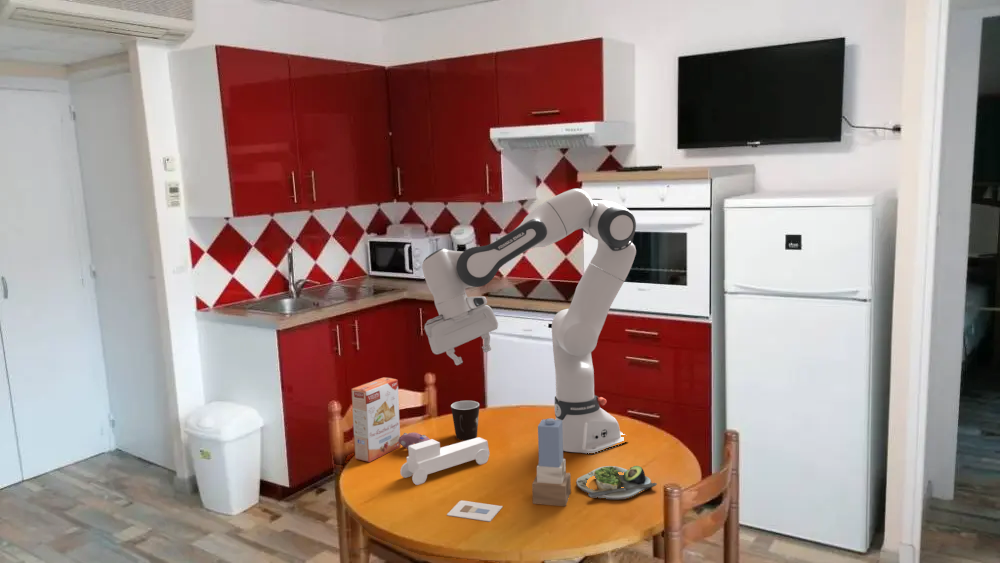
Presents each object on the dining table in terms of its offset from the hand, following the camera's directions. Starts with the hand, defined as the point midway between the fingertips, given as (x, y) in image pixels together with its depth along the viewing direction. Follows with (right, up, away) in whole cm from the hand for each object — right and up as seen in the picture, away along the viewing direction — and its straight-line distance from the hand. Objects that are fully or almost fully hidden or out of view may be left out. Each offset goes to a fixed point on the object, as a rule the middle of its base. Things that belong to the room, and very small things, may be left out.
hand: (473, 357), depth 199 cm
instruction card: (+1, -34, -21) cm, 40 cm away
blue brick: (+19, -24, -17) cm, 35 cm away
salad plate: (+36, -32, -10) cm, 49 cm away
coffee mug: (-4, -27, +28) cm, 39 cm away
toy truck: (-8, -31, +5) cm, 33 cm away
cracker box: (-28, -30, +18) cm, 45 cm away
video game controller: (-17, -29, +19) cm, 39 cm away
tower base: (+20, -33, -15) cm, 41 cm away
